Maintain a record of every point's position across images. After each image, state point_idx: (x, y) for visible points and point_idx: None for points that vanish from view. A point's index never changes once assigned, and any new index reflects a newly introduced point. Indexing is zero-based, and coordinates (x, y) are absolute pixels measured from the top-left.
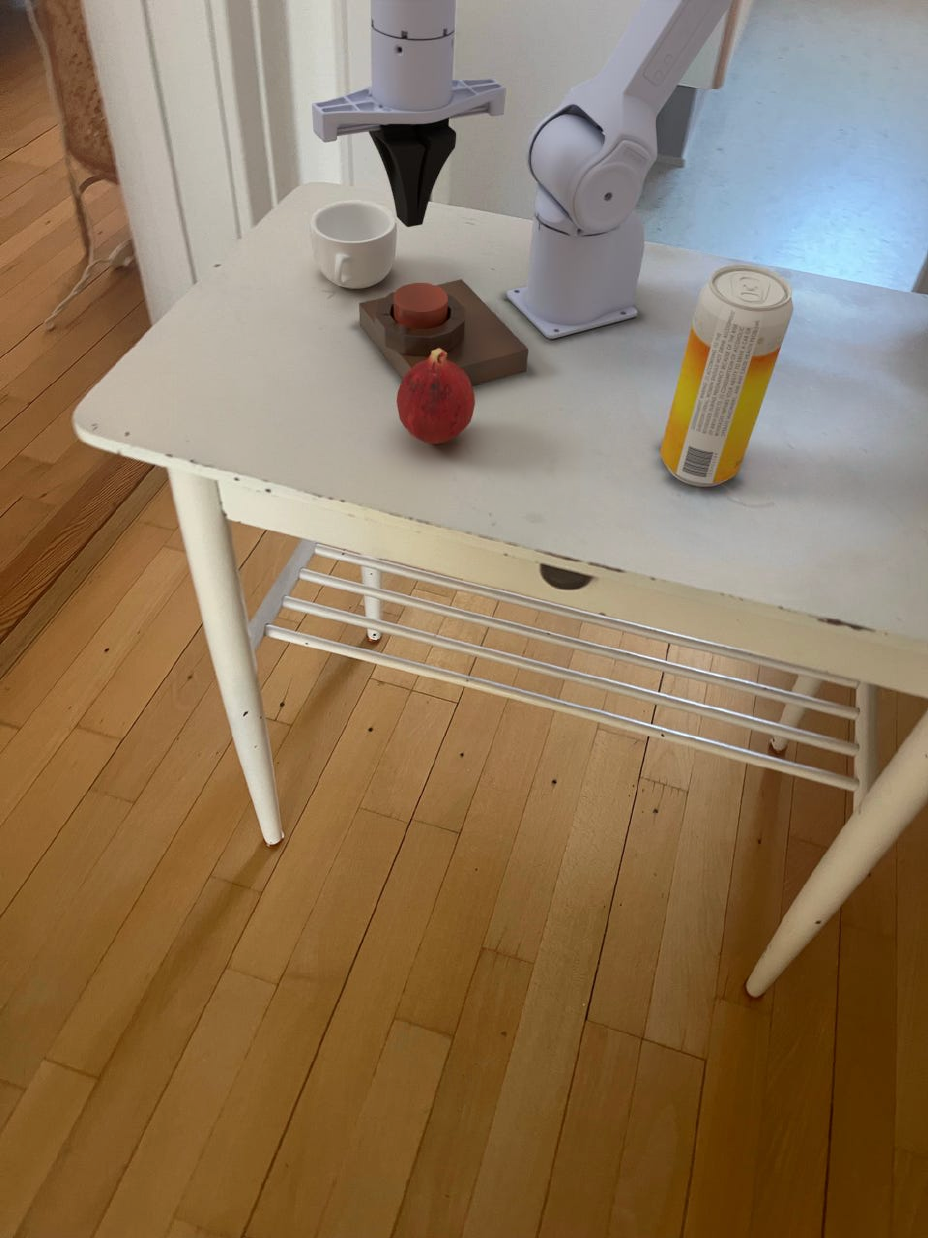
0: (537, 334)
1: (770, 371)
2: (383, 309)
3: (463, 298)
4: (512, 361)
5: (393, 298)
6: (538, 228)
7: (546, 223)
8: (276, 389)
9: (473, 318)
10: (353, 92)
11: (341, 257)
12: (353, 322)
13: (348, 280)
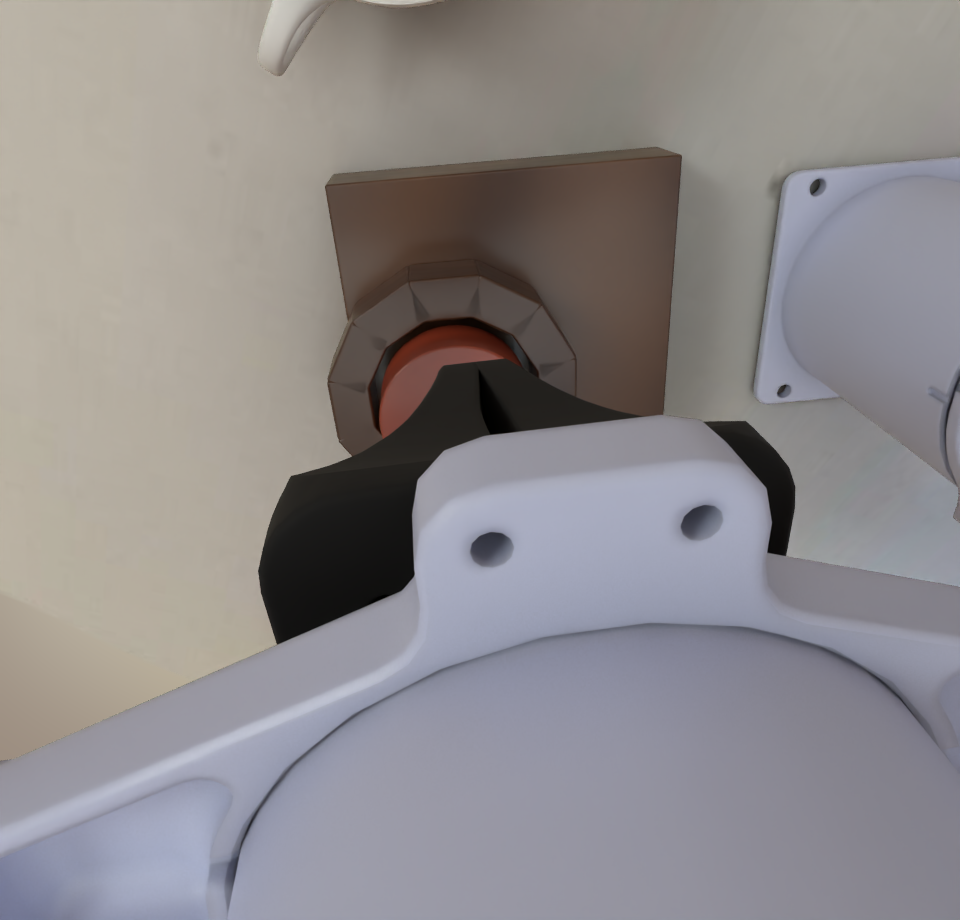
0: (746, 362)
1: None
2: (358, 362)
3: (630, 264)
4: None
5: (381, 399)
6: (931, 385)
7: (947, 438)
8: (71, 380)
9: (605, 364)
10: (43, 830)
11: (287, 20)
12: (318, 148)
13: (328, 3)
